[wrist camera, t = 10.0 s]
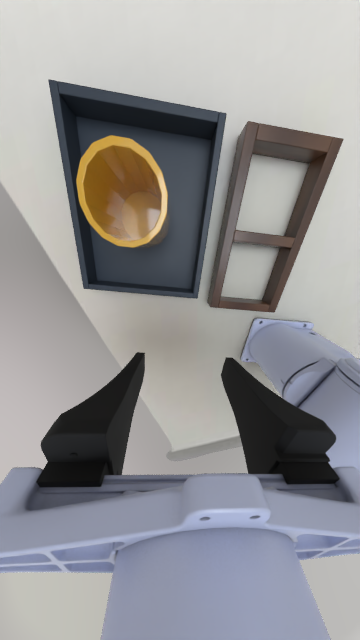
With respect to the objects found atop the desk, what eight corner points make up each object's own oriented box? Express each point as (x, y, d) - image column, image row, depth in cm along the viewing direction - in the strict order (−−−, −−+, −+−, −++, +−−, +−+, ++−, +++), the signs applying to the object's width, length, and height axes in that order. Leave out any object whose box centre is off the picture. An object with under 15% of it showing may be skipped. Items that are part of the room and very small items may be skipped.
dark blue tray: (217, 135, 14) (226, 112, 12) (194, 292, 21) (197, 298, 18) (70, 109, 13) (47, 78, 11) (94, 283, 20) (83, 288, 17)
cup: (171, 192, 16) (170, 144, 8) (168, 249, 18) (164, 251, 11) (117, 184, 15) (67, 127, 8) (121, 244, 17) (84, 242, 10)
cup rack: (323, 151, 15) (344, 138, 13) (266, 307, 22) (274, 312, 20) (238, 136, 14) (247, 120, 13) (207, 302, 21) (210, 307, 20)
